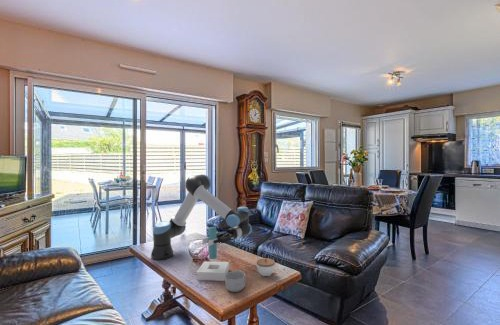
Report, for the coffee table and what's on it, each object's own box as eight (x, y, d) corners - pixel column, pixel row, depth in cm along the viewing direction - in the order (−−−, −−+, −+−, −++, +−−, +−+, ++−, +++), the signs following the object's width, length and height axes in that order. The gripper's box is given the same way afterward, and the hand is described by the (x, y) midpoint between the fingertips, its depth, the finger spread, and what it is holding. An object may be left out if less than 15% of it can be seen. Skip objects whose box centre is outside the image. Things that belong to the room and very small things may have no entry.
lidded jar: (276, 277, 157) (276, 261, 157) (258, 279, 155) (258, 262, 155) (272, 270, 168) (272, 254, 168) (255, 271, 166) (255, 256, 166)
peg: (210, 256, 165) (209, 226, 165) (217, 256, 165) (217, 226, 164) (208, 259, 160) (207, 228, 160) (215, 259, 160) (215, 228, 160)
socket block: (204, 268, 171) (203, 261, 171) (229, 269, 169) (229, 262, 169) (196, 279, 155) (196, 272, 155) (224, 280, 154) (224, 272, 153)
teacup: (237, 296, 136) (237, 280, 136) (220, 291, 142) (220, 275, 142) (252, 285, 148) (252, 270, 148) (235, 280, 154) (235, 266, 154)
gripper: (243, 241, 171) (216, 252, 153) (223, 236, 182) (196, 245, 164) (243, 229, 170) (216, 238, 152) (223, 225, 182) (196, 233, 164)
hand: (205, 242), depth 158 cm, fingers closed on peg, 4 cm apart
